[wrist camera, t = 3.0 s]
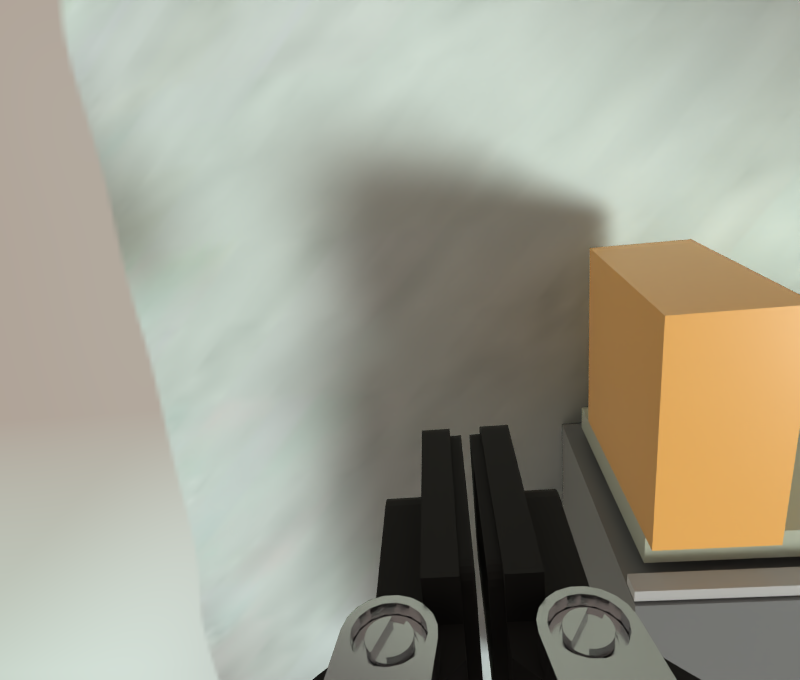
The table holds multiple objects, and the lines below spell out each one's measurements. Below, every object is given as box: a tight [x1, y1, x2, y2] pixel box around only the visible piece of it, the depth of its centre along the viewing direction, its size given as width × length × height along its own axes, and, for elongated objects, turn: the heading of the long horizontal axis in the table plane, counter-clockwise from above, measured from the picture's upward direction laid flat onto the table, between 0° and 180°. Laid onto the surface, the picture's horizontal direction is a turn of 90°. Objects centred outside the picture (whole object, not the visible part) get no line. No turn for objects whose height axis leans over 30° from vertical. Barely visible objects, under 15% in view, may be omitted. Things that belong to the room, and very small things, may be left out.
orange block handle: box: [582, 239, 800, 563], centre depth 17 cm, size 9×7×8 cm
